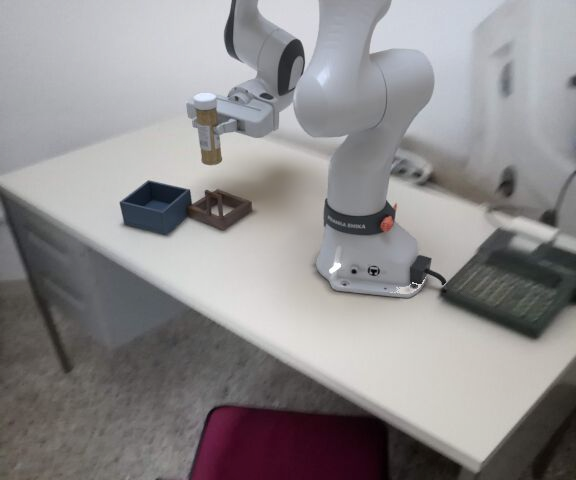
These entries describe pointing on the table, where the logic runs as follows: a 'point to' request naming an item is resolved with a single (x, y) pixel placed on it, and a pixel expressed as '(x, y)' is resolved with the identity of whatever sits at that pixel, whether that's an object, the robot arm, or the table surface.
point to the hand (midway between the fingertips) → (205, 127)
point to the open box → (156, 207)
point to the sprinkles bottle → (207, 128)
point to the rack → (219, 209)
